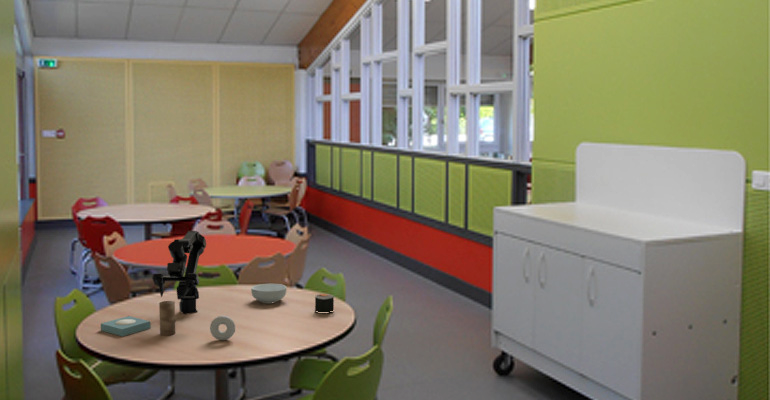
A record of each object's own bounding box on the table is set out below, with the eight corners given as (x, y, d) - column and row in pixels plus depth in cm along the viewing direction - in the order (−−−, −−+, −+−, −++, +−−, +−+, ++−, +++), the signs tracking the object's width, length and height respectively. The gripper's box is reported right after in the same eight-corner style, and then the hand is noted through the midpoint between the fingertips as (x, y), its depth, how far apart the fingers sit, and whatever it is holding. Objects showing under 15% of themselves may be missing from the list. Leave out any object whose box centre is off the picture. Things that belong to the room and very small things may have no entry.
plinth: (129, 322, 314) (129, 315, 313) (150, 328, 306) (150, 320, 306) (100, 330, 302) (100, 323, 302) (122, 336, 294) (122, 328, 294)
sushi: (322, 314, 329) (322, 297, 328) (311, 311, 335) (311, 294, 334) (336, 311, 334) (336, 294, 333) (326, 308, 340) (326, 291, 339)
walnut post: (172, 330, 303) (172, 300, 301) (177, 334, 298) (176, 303, 296) (158, 332, 300) (157, 302, 298) (162, 336, 295) (161, 305, 293)
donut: (236, 338, 293) (235, 314, 292) (235, 341, 290) (234, 316, 289) (210, 339, 292) (210, 314, 291) (209, 341, 289) (209, 317, 288)
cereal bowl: (293, 300, 354) (293, 286, 353) (270, 307, 340) (270, 292, 339) (267, 295, 363) (267, 281, 362) (244, 302, 349) (243, 287, 348)
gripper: (152, 254, 308) (145, 286, 299) (196, 254, 309) (190, 286, 299) (158, 268, 317) (151, 300, 308) (201, 269, 317) (195, 300, 308)
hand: (172, 296), depth 305 cm, fingers open, 9 cm apart
